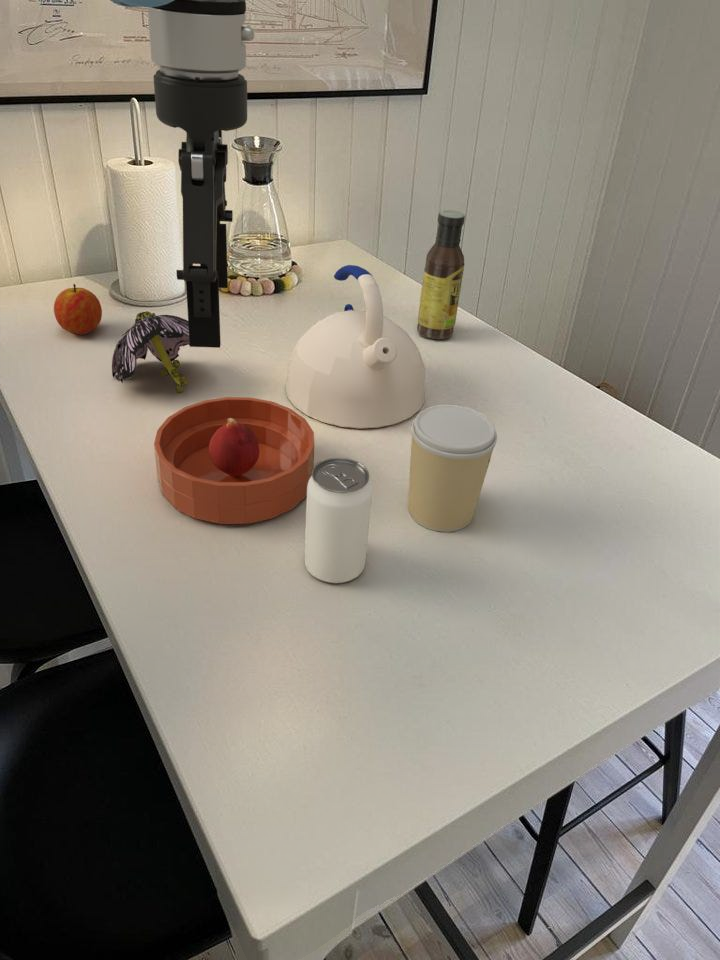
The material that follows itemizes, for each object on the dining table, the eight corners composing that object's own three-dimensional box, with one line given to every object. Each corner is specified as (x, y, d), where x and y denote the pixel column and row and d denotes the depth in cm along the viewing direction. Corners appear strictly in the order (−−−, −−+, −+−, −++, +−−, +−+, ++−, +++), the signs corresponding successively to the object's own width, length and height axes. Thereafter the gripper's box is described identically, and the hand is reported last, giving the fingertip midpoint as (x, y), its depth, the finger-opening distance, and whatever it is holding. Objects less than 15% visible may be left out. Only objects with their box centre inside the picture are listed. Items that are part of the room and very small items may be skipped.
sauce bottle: (451, 344, 124) (470, 223, 112) (413, 338, 125) (428, 217, 113) (455, 328, 129) (473, 210, 117) (419, 322, 130) (434, 205, 118)
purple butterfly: (184, 288, 111) (199, 300, 97) (214, 361, 116) (232, 382, 102) (89, 324, 108) (90, 342, 95) (124, 397, 113) (130, 424, 100)
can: (337, 536, 84) (343, 447, 77) (377, 567, 80) (387, 477, 73) (292, 560, 80) (293, 470, 73) (331, 595, 77) (337, 503, 69)
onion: (258, 459, 93) (257, 404, 88) (261, 488, 89) (260, 431, 84) (210, 461, 92) (206, 406, 87) (210, 490, 88) (207, 433, 83)
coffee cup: (496, 521, 88) (516, 436, 81) (432, 546, 83) (447, 458, 76) (447, 478, 94) (462, 395, 87) (385, 500, 90) (395, 414, 82)
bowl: (149, 528, 83) (143, 485, 79) (169, 435, 97) (165, 395, 94) (315, 528, 85) (316, 485, 81) (310, 437, 99) (311, 398, 95)
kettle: (307, 439, 99) (312, 311, 88) (270, 365, 114) (270, 248, 103) (448, 421, 105) (468, 299, 94) (394, 352, 120) (407, 241, 109)
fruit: (55, 325, 119) (46, 276, 115) (100, 319, 122) (93, 272, 117) (61, 344, 114) (52, 295, 110) (108, 338, 117) (101, 289, 112)
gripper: (241, 105, 52) (245, 377, 64) (250, 51, 72) (251, 267, 84) (129, 97, 51) (155, 374, 63) (170, 45, 71) (183, 264, 83)
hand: (210, 314), depth 74 cm, fingers open, 13 cm apart
